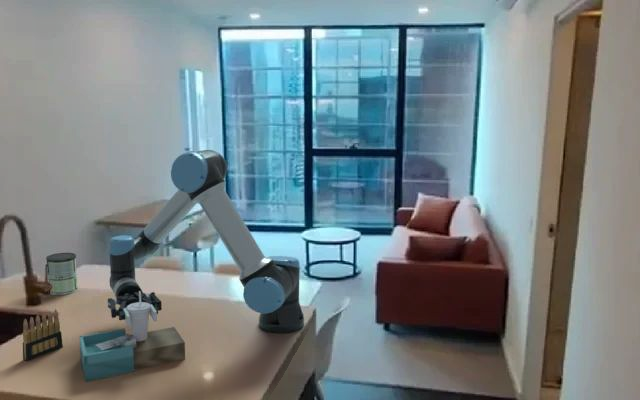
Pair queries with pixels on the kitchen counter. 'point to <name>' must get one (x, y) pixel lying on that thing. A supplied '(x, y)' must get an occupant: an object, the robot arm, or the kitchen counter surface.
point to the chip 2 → (126, 341)
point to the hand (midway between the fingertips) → (142, 318)
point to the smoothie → (139, 319)
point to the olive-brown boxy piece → (159, 348)
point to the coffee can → (62, 273)
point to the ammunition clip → (41, 336)
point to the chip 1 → (106, 346)
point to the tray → (104, 356)
